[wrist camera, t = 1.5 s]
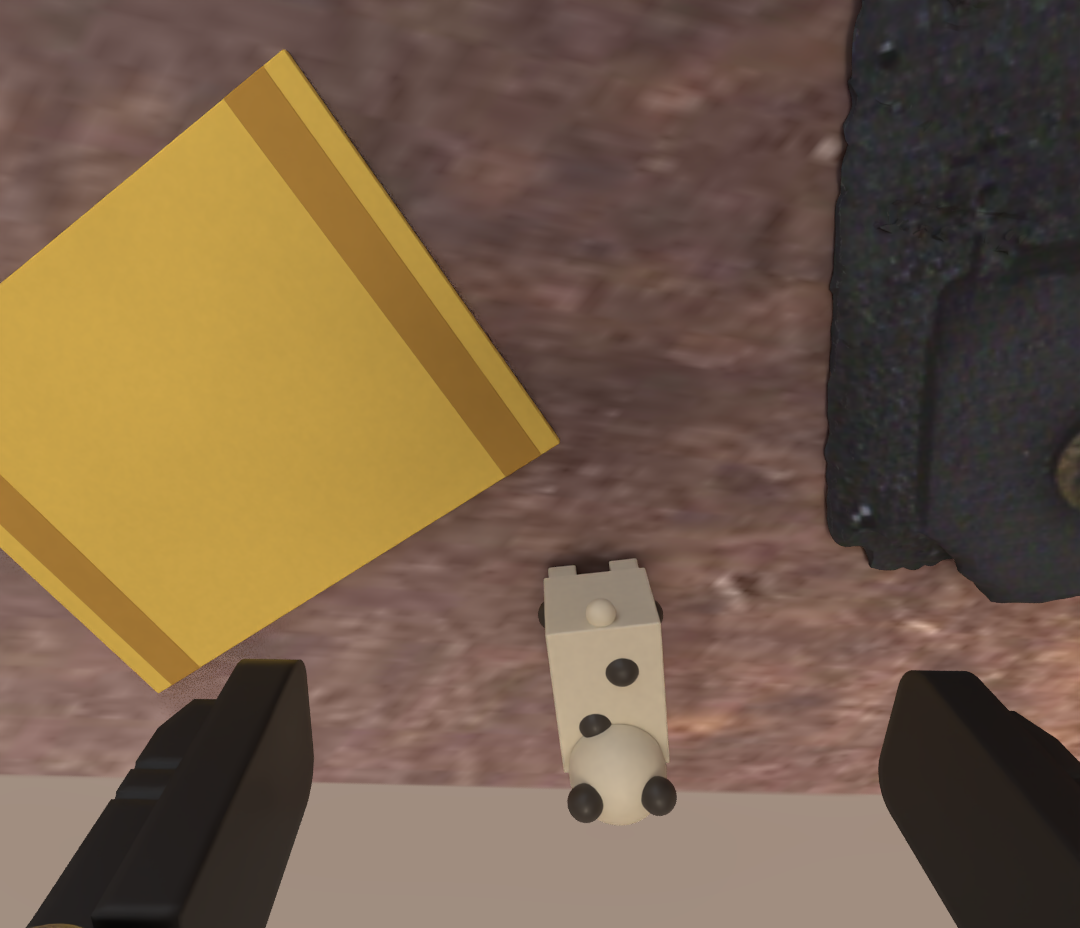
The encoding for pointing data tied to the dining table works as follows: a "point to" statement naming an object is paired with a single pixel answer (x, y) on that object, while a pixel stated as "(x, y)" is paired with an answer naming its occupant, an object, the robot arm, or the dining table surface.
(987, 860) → the robot arm
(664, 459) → the dining table surface
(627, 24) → the dining table surface
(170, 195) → the towel
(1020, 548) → the dark slate chunk
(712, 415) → the dining table surface
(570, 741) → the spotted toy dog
